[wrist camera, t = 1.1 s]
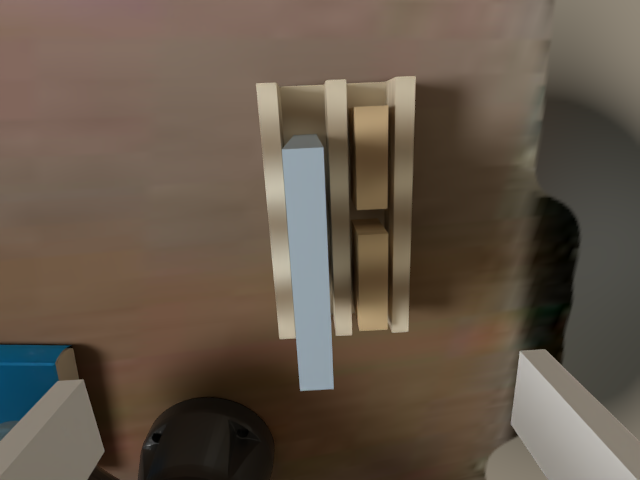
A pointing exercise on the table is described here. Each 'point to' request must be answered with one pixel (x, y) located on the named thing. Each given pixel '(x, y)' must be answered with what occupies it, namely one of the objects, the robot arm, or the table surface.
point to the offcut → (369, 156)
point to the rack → (340, 187)
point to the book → (31, 375)
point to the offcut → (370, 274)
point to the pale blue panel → (309, 259)
